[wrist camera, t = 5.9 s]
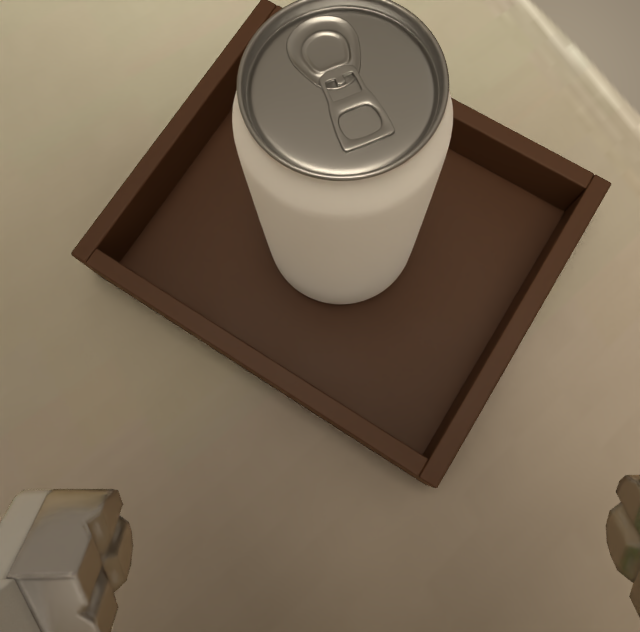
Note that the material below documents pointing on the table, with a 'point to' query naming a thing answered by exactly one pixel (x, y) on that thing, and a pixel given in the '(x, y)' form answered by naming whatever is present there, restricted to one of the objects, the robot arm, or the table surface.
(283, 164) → the can
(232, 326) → the tray
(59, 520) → the robot arm
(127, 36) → the table surface
